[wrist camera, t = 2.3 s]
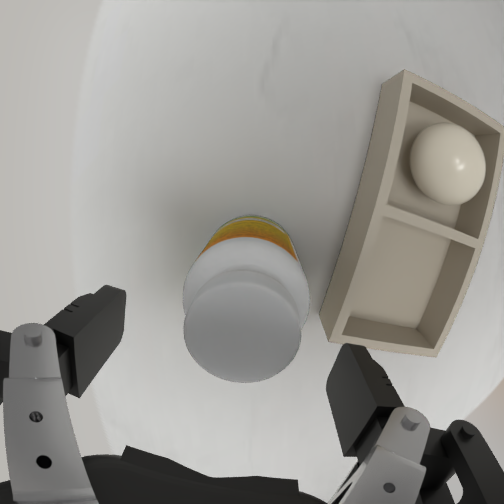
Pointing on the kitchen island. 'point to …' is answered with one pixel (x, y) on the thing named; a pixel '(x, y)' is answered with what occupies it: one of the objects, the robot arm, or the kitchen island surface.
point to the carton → (409, 230)
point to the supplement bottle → (246, 301)
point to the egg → (447, 163)
